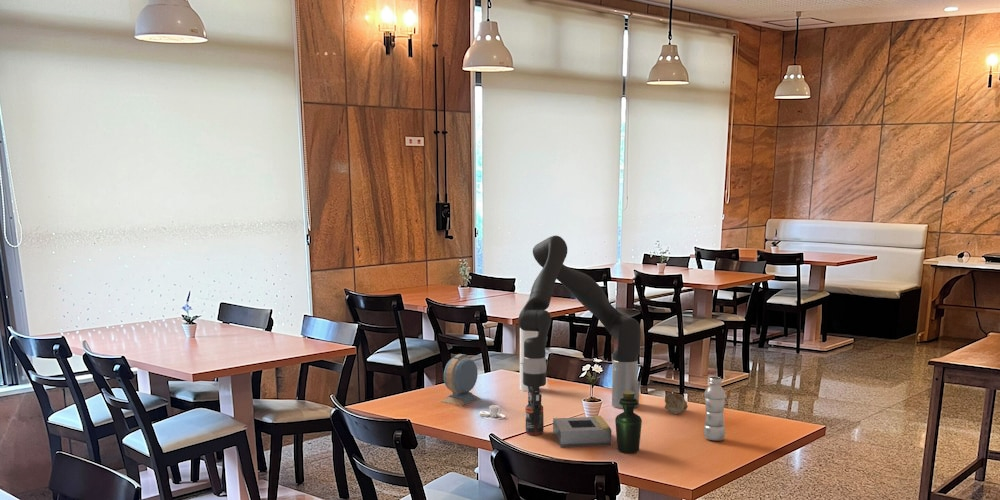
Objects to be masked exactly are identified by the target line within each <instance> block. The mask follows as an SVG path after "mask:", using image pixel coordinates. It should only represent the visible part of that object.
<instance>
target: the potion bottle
mask: <svg viewBox="0 0 1000 500" xmlns="http://www.w3.org/2000/svg"><path fill="white" fill-rule="evenodd" d="M634 396H635V392H633V391H623V397H624V398H621V399H620V402H619V404H621V405H622V406H623V408H622V410H623V411H622V412H621V413H619V414H618V415H616V417H615V419H614V420H615V421H614V423H615V432H616V433H615V434H616V435H615V436H616V449H617V450H618V451H619V452H620V453H622V454H631V455H632V454H637V453H638V452H640V444H641V433H642V432H641V431H642V423H643V420H642V417H641V416H640V415H638V414H637V413H635V412H634V411H635V408H636V407H635V406H636V405H638V401H637V399H634Z"/></svg>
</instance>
